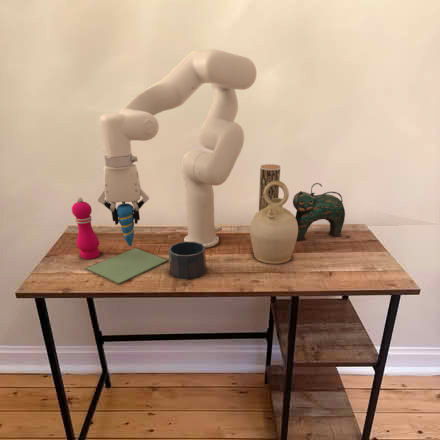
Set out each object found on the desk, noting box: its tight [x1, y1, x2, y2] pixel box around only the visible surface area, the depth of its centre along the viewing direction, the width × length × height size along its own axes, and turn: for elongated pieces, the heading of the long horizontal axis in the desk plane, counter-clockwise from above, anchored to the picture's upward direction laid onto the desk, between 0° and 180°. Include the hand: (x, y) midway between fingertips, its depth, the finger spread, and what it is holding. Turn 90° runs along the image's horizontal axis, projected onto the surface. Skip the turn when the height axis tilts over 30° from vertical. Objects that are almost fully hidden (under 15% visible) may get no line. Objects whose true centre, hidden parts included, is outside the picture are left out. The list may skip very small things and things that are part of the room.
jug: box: [249, 180, 298, 265], centre depth 128 cm, size 15×16×25 cm
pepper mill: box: [71, 196, 100, 260], centre depth 132 cm, size 7×7×20 cm
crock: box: [168, 241, 207, 280], centre depth 124 cm, size 11×11×8 cm
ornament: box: [116, 202, 135, 247], centre depth 123 cm, size 5×5×15 cm
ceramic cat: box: [292, 182, 346, 242], centre depth 144 cm, size 20×6×20 cm, turn 104°
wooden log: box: [258, 163, 281, 212], centre depth 145 cm, size 7×7×25 cm
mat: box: [86, 247, 169, 285], centre depth 130 cm, size 20×16×1 cm
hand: (126, 222), depth 123 cm, fingers closed on ornament, 5 cm apart
